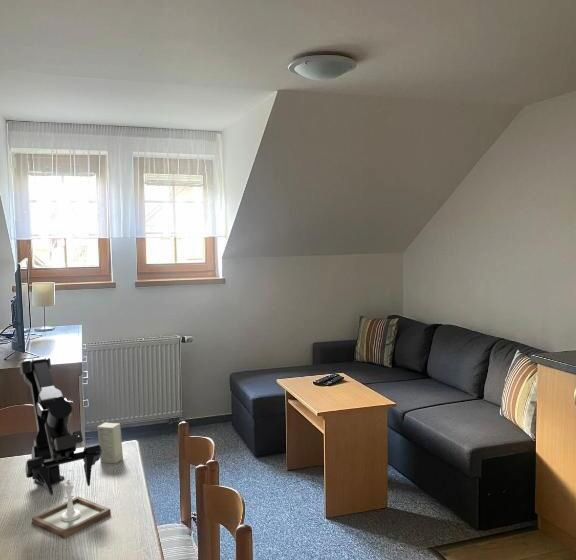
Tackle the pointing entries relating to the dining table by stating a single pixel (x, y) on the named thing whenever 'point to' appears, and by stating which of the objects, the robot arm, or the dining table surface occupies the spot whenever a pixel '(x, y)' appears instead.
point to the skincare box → (110, 442)
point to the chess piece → (70, 505)
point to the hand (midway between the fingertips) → (70, 489)
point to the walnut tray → (67, 528)
